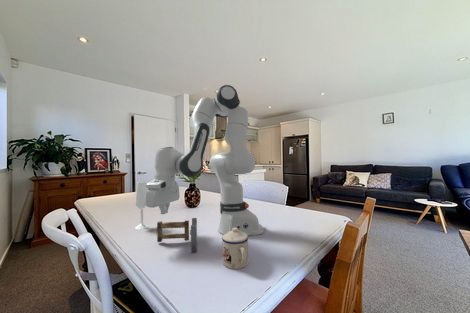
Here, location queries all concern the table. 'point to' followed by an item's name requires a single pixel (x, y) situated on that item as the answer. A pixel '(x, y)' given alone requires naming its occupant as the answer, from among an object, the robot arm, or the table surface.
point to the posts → (193, 235)
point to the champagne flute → (141, 201)
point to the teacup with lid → (235, 249)
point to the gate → (172, 225)
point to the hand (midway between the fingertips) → (164, 213)
